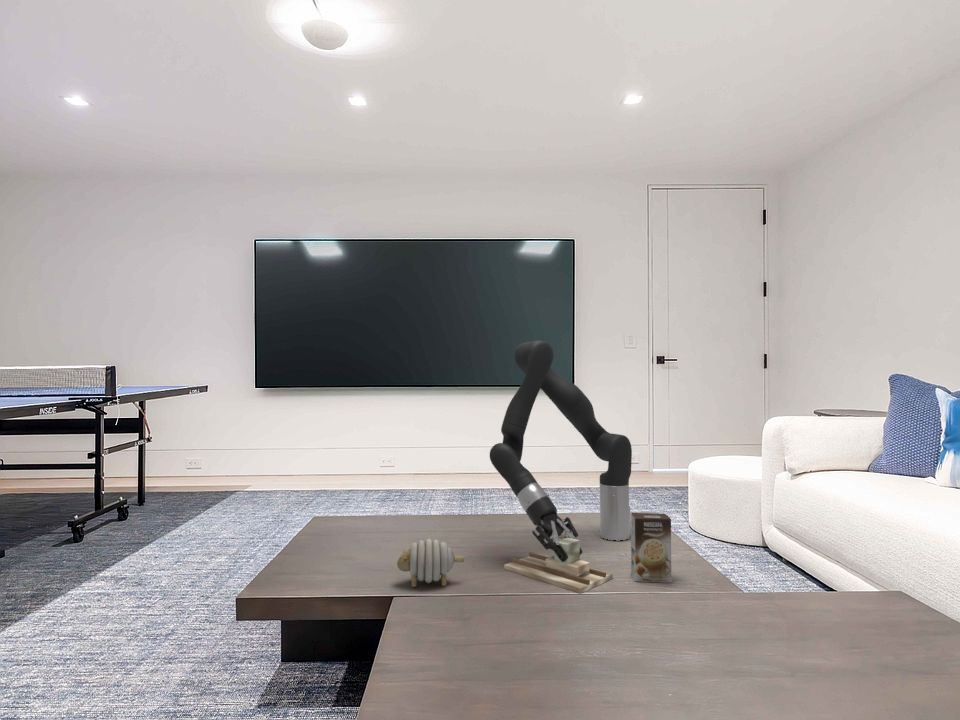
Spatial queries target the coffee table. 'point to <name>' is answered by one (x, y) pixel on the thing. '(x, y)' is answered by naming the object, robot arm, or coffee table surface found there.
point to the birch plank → (556, 573)
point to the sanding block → (569, 559)
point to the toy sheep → (428, 561)
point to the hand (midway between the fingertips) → (572, 557)
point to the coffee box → (651, 547)
